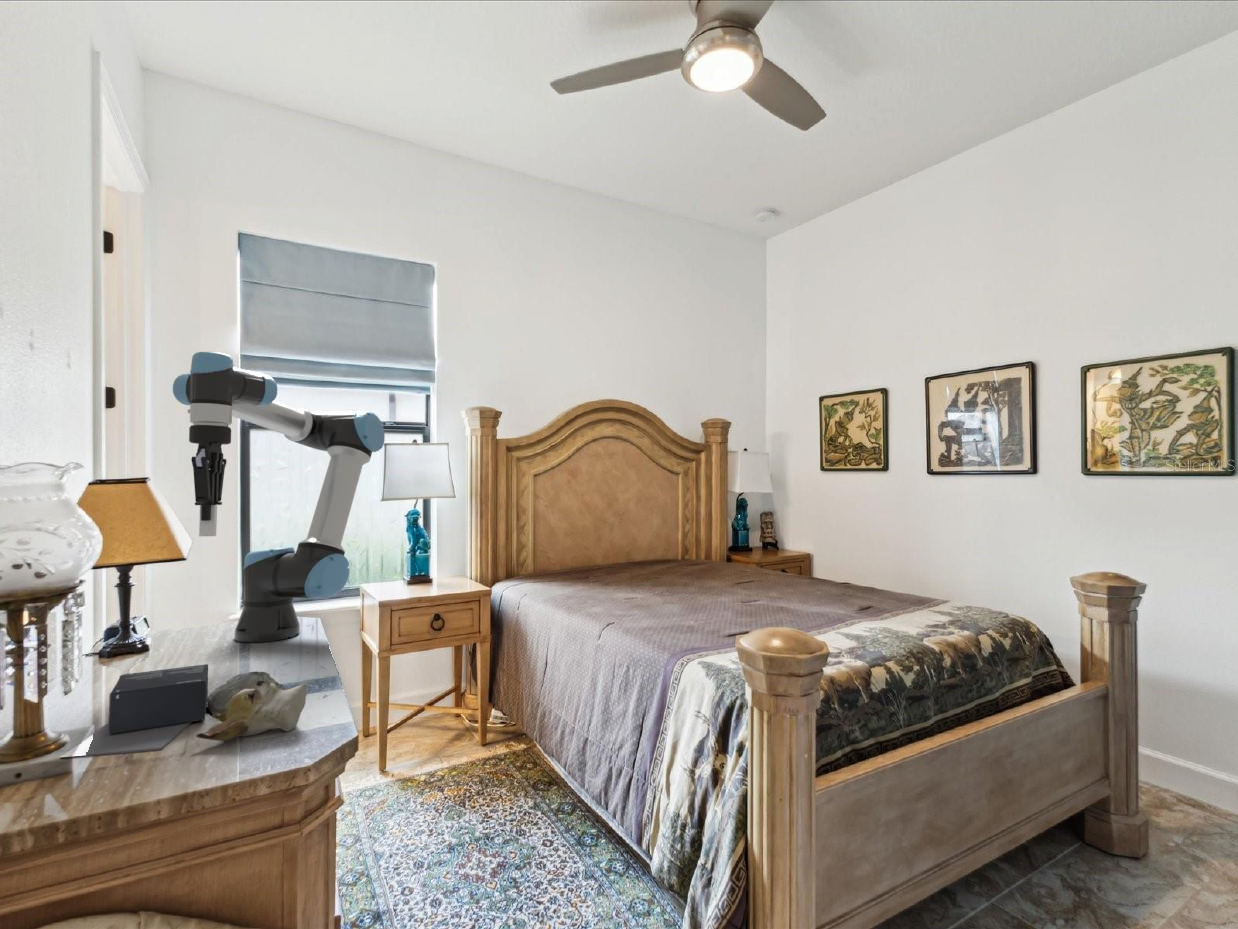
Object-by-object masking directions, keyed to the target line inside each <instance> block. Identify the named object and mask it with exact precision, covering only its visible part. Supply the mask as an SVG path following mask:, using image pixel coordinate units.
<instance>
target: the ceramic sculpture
mask: <svg viewBox="0 0 1238 929" xmlns="http://www.w3.org/2000/svg"><path fill="white" fill-rule="evenodd" d="M307 694H308V684H307V683H303V684H301V685H296V686H294V687H292V688H289V689H285V690H280V689H278V688H277V687H276V686H275V684H273V683H270V682H269V681H258V682H257V684H256V686H255V688H251V689H244V690H242V691H240V692H239V693H237V694H236V695H235V696H234V697H233V698H232V699H231V700H230V701H229V703H228V705H227V710H226V712H225V713H223V714H218V713H217V714H213V713H212V714H211V715H212V716H211V717H212V718H213V719H215V720H217V721H219V723H217V724H214V725H212V727H210V728H209V729H208V730H206V731H203V732H201V733H197V734H196V735H195V737H196V738H199V739H203V740H210V741H219V742H220V741H229V740H233V739H234V738H237V737H240V736H242V737H247V736H253V735H254V736H255V735H257V734H261V733H264V732H266V731H268V730H271V729H277V728H278V729H281V730H283V731H284V732H290V731H291V730H293V729H295V728H296V726H297V725H298V724H299V720H300V717H301V714H302V712H303V710H304V709H305V706H306V699H307V698H306V697H307V696H308V695H307Z"/></svg>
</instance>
